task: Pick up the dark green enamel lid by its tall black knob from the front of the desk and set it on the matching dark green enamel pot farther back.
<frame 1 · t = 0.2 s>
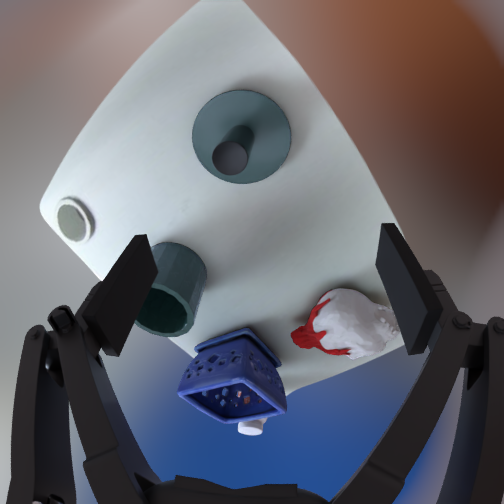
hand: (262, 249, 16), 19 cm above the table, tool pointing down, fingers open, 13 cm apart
lid: (241, 137, 30), point 1 cm above the table
pill bottle: (254, 384, 58), on the table
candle: (337, 304, 44), on the table
flower pot: (239, 347, 51), on the table
pot: (174, 270, 42), on the table
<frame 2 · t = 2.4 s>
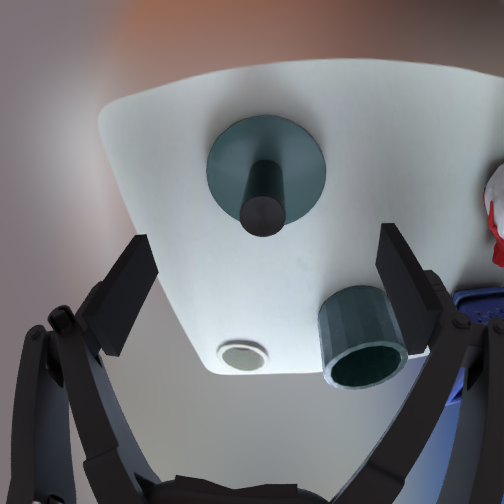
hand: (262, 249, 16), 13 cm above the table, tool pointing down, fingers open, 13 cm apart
lid: (266, 173, 26), point 1 cm above the table
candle: (501, 192, 25), on the table
flower pot: (466, 309, 35), on the table
pot: (354, 314, 36), on the table
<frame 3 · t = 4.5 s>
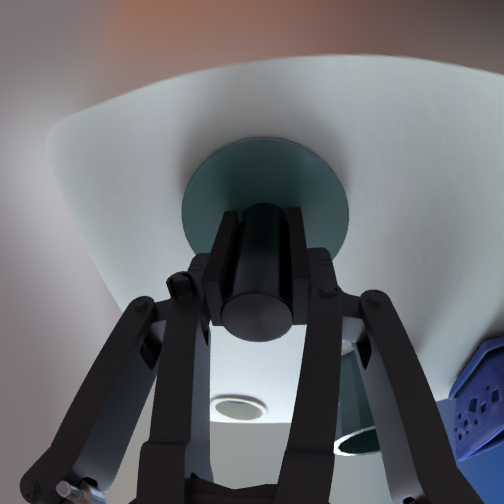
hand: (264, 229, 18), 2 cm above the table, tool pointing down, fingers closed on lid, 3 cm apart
lid: (265, 219, 19), point 1 cm above the table, touching gripper
flower pot: (489, 355, 28), on the table
pot: (368, 371, 29), on the table
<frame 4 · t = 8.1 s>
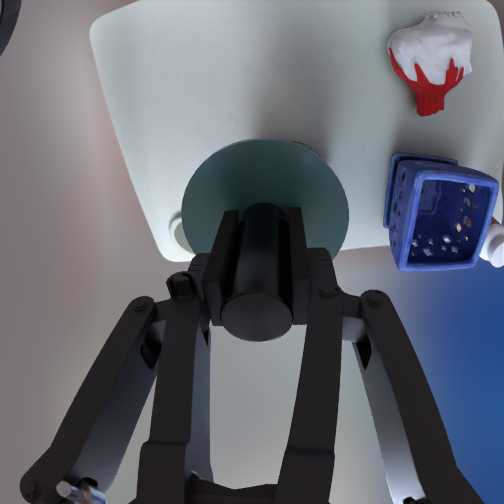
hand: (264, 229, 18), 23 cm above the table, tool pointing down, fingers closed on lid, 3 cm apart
lid: (264, 219, 19), point 22 cm above the table, touching gripper
pill bottle: (468, 216, 40), on the table
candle: (415, 60, 28), on the table
flower pot: (415, 187, 39), on the table
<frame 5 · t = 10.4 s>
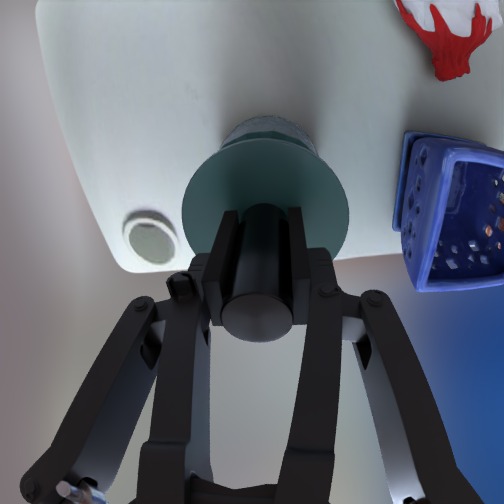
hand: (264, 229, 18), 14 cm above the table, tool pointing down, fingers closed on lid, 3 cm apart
lid: (265, 219, 19), point 13 cm above the table, touching gripper
pill bottle: (494, 217, 30), on the table
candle: (427, 15, 18), on the table
flower pot: (433, 178, 28), on the table
pot: (268, 161, 29), on the table
when the fingers open (10 cm above the table, at t = 11.7 s): lid stays where it is, resting on pot.
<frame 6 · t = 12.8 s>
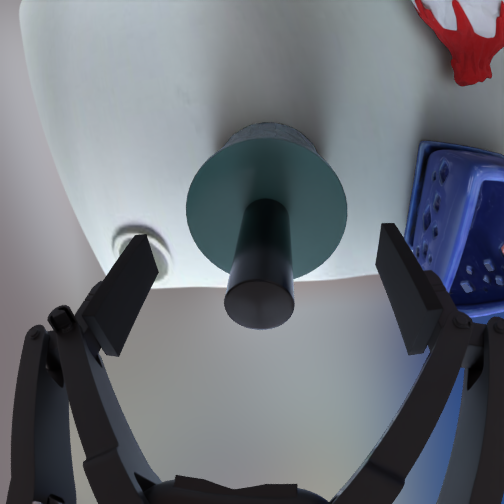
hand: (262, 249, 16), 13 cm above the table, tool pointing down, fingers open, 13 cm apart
lid: (266, 215, 20), point 8 cm above the table, touching pot
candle: (444, 12, 15), on the table
flower pot: (448, 191, 26), on the table
pot: (269, 173, 27), on the table
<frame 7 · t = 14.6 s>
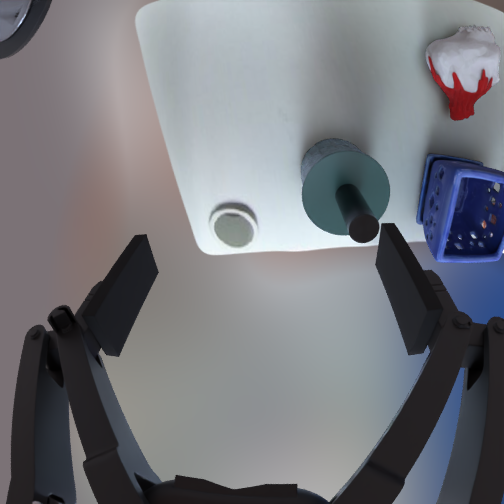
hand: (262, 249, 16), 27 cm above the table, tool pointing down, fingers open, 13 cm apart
lid: (346, 193, 33), point 8 cm above the table, touching pot
pill bottle: (489, 215, 40), on the table
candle: (447, 68, 29), on the table
flower pot: (445, 186, 39), on the table
pot: (334, 171, 40), on the table
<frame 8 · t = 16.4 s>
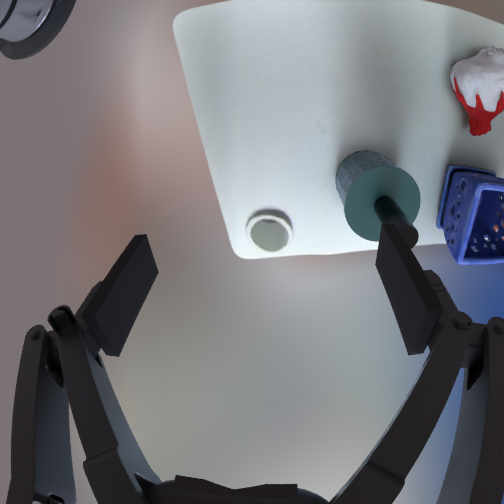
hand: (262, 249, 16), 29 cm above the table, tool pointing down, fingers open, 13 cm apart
lid: (382, 204, 35), point 8 cm above the table, touching pot
pill bottle: (499, 219, 42), on the table
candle: (467, 85, 31), on the table
flower pot: (461, 193, 41), on the table
pot: (365, 180, 42), on the table
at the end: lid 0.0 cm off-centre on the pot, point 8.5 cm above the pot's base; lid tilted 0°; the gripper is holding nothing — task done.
